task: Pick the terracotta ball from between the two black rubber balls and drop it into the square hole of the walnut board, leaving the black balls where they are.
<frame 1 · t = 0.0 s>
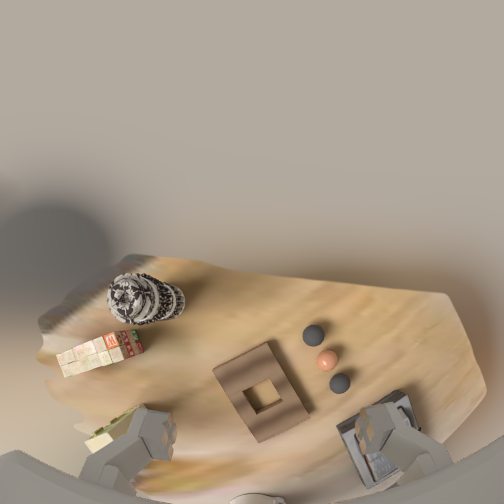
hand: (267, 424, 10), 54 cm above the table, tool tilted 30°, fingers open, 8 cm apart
terracotta ball: (327, 360, 59), point 2 cm above the table
stack of blocks: (107, 351, 62), on the table
decorative candle: (168, 301, 65), on the table
bible: (378, 437, 58), on the table
toy refrigerator: (139, 416, 58), on the table
walnut board: (262, 393, 60), on the table
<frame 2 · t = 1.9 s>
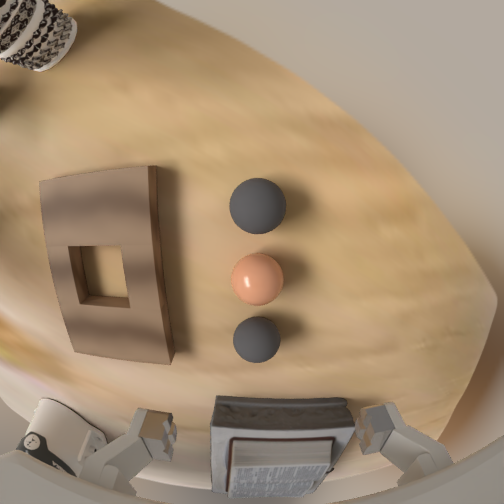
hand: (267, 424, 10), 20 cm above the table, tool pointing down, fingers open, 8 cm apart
terracotta ball: (257, 279, 27), point 2 cm above the table
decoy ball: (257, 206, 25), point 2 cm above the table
decorative candle: (53, 43, 20), on the table
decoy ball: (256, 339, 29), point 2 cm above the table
bible: (271, 440, 39), on the table
walnut board: (107, 269, 29), on the table
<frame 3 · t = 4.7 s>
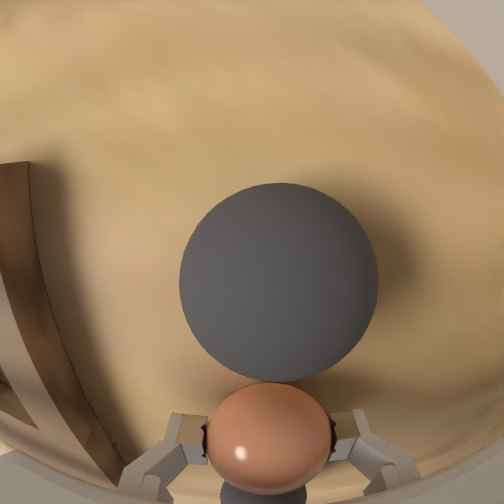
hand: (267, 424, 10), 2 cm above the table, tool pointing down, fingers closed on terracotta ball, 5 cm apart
terracotta ball: (268, 440, 9), point 2 cm above the table, touching gripper
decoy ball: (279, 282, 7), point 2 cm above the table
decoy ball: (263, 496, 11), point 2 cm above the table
walnut board: (2, 354, 11), on the table
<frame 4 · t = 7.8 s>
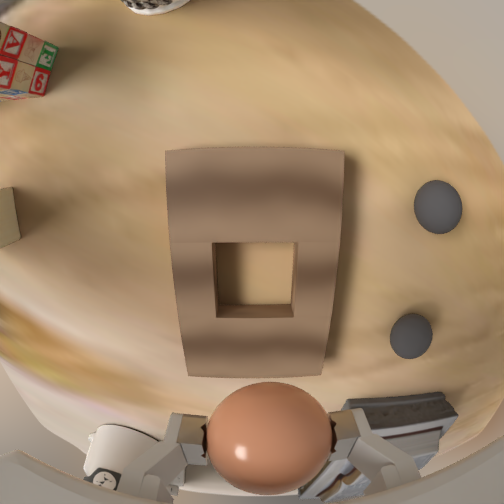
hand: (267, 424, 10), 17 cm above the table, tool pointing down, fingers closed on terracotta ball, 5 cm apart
terracotta ball: (269, 439, 9), point 18 cm above the table, touching gripper
stack of blocks: (3, 81, 18), on the table
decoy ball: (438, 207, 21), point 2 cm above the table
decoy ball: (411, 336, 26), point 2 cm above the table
bible: (367, 439, 36), on the table
toy refrigerator: (1, 213, 24), on the table
walnut board: (254, 271, 26), on the table
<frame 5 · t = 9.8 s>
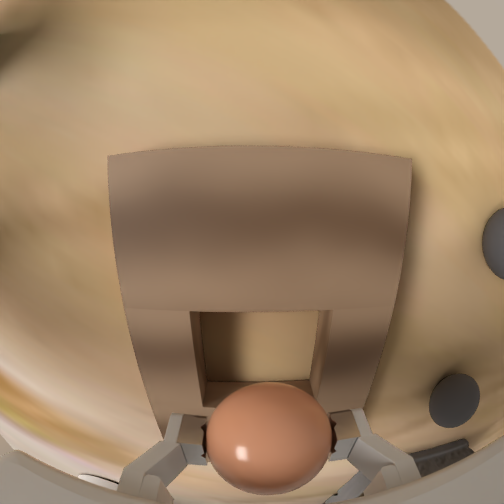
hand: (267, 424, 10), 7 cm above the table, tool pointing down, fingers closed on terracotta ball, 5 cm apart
terracotta ball: (268, 439, 9), point 8 cm above the table, touching gripper
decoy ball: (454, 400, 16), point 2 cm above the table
bible: (380, 488, 27), on the table
walnut board: (259, 341, 17), on the table
when the fingers open (4 cm above the table, at t = 11.2 s): terracotta ball drops 2 cm, point 2 cm above the table.
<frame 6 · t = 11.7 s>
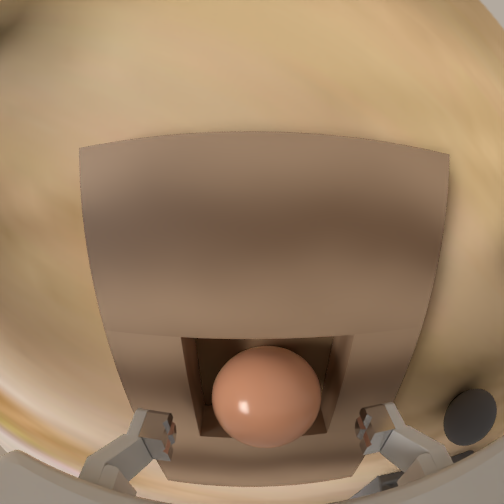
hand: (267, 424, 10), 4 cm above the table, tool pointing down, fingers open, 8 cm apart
terracotta ball: (266, 397, 12), point 2 cm above the table
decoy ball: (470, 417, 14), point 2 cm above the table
bible: (384, 499, 24), on the table
walnut board: (264, 364, 14), on the table
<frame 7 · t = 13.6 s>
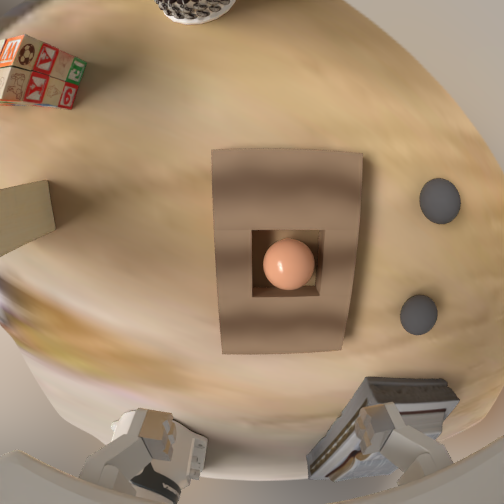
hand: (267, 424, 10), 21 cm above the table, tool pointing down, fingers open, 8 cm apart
terracotta ball: (288, 264, 27), point 2 cm above the table
stack of blocks: (28, 85, 22), on the table
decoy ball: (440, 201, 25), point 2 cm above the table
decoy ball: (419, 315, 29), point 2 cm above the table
bible: (375, 422, 40), on the table
toy refrigerator: (34, 206, 28), on the table
walnut board: (285, 256, 30), on the table
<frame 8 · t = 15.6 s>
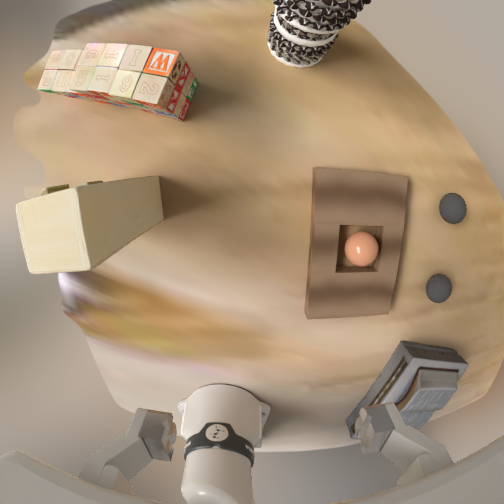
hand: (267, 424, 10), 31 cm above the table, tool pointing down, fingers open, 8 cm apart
terracotta ball: (361, 248, 38), point 2 cm above the table, tilted 5°
stack of blocks: (128, 88, 33), on the table
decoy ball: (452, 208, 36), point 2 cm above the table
decorative candle: (296, 44, 31), on the table
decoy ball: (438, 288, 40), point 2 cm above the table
bible: (402, 386, 51), on the table
toy refrigerator: (138, 198, 38), on the table
walnut board: (354, 244, 40), on the table
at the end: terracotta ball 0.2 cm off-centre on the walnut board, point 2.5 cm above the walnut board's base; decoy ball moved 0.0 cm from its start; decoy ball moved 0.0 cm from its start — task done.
